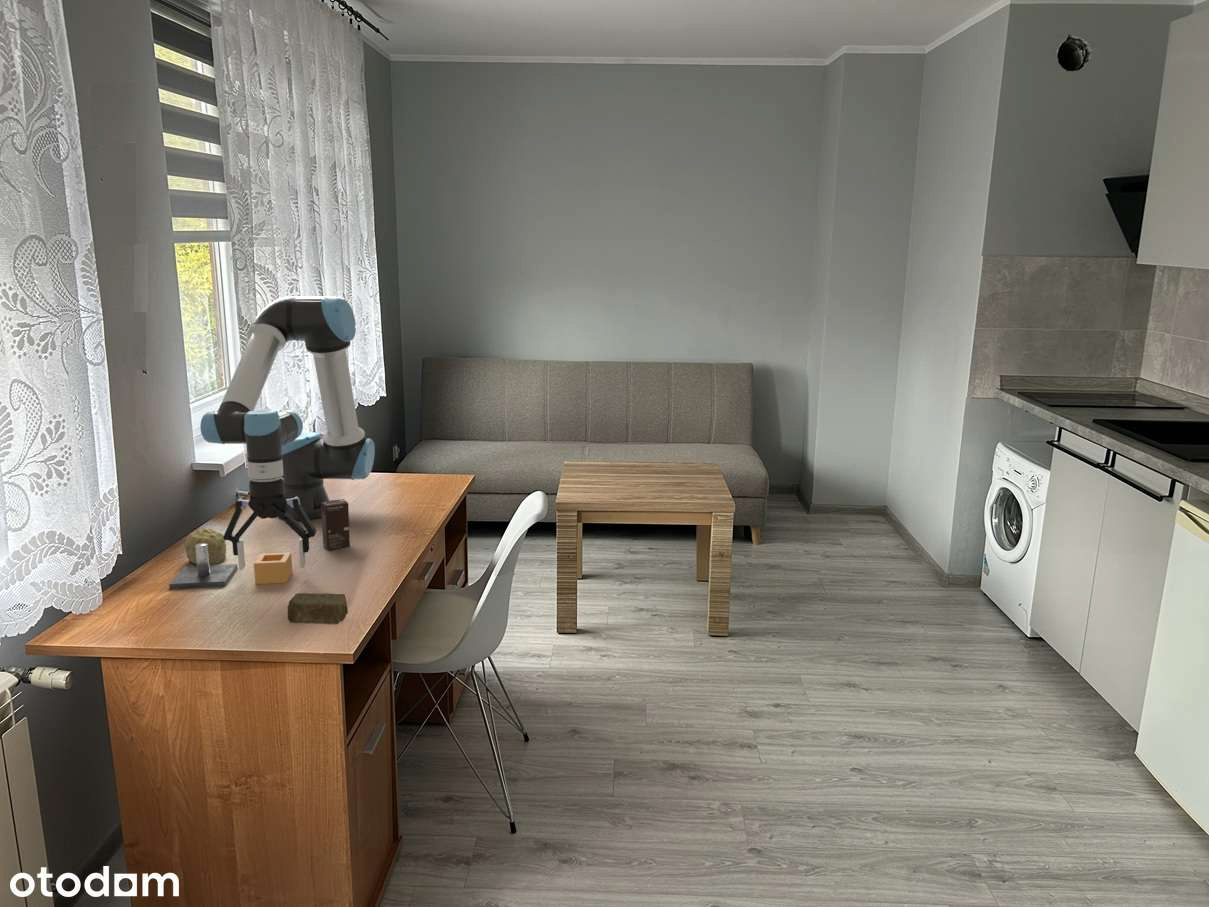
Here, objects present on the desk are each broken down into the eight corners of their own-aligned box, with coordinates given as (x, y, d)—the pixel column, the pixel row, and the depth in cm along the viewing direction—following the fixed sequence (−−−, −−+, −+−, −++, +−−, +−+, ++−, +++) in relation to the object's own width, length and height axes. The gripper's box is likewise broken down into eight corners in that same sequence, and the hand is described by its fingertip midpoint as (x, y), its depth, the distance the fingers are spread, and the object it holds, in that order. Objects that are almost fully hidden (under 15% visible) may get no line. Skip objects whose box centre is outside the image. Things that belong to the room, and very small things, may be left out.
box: (328, 551, 234) (325, 505, 232) (323, 546, 238) (320, 501, 235) (351, 547, 237) (348, 502, 235) (345, 542, 241) (343, 498, 239)
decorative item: (227, 574, 228) (241, 537, 232) (202, 562, 219) (216, 523, 223) (196, 571, 231) (210, 534, 235) (170, 558, 222) (185, 520, 226)
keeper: (185, 571, 219) (181, 538, 218) (237, 568, 221) (234, 536, 219) (169, 589, 208) (165, 554, 206) (225, 586, 210) (222, 552, 208)
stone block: (297, 613, 195) (295, 591, 194) (350, 615, 194) (349, 592, 193) (286, 624, 189) (284, 601, 188) (341, 626, 188) (340, 603, 187)
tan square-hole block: (261, 573, 218) (260, 553, 217) (292, 572, 219) (291, 552, 218) (255, 584, 211) (253, 563, 210) (287, 582, 212) (285, 562, 211)
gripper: (204, 483, 204) (212, 574, 209) (320, 480, 208) (325, 569, 212) (213, 476, 211) (220, 564, 216) (325, 472, 215) (330, 559, 219)
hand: (272, 567), depth 214 cm, fingers open, 13 cm apart
